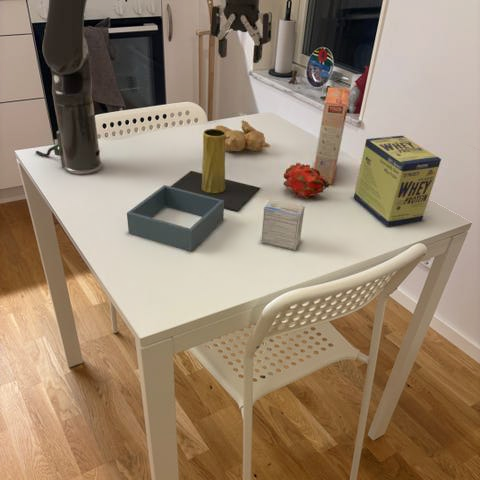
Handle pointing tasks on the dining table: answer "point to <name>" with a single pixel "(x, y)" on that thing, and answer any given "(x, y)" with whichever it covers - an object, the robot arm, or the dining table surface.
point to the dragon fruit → (304, 180)
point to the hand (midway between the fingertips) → (239, 59)
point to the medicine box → (282, 224)
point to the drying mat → (232, 196)
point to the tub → (171, 233)
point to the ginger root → (243, 138)
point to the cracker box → (331, 132)
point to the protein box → (395, 179)
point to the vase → (213, 161)
